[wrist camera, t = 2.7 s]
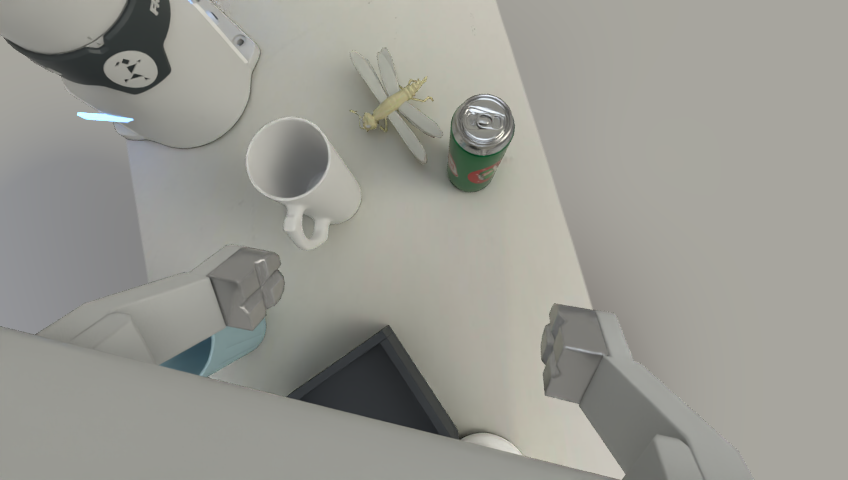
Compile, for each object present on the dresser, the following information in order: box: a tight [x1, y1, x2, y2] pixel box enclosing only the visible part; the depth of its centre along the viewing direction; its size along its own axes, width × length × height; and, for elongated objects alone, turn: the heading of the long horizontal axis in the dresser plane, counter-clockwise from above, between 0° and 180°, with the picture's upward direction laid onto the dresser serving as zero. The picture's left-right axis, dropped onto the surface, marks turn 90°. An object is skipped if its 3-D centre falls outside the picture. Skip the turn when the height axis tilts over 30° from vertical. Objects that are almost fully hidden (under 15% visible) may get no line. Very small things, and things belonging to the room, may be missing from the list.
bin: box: [286, 325, 459, 440], centre depth 33 cm, size 13×13×4 cm
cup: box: [159, 318, 266, 377], centre depth 32 cm, size 8×8×10 cm
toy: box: [350, 47, 443, 164], centre depth 37 cm, size 15×9×5 cm, turn 32°
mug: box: [245, 117, 361, 251], centre depth 32 cm, size 10×7×12 cm, turn 178°
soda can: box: [447, 94, 515, 192], centre depth 32 cm, size 5×5×12 cm
